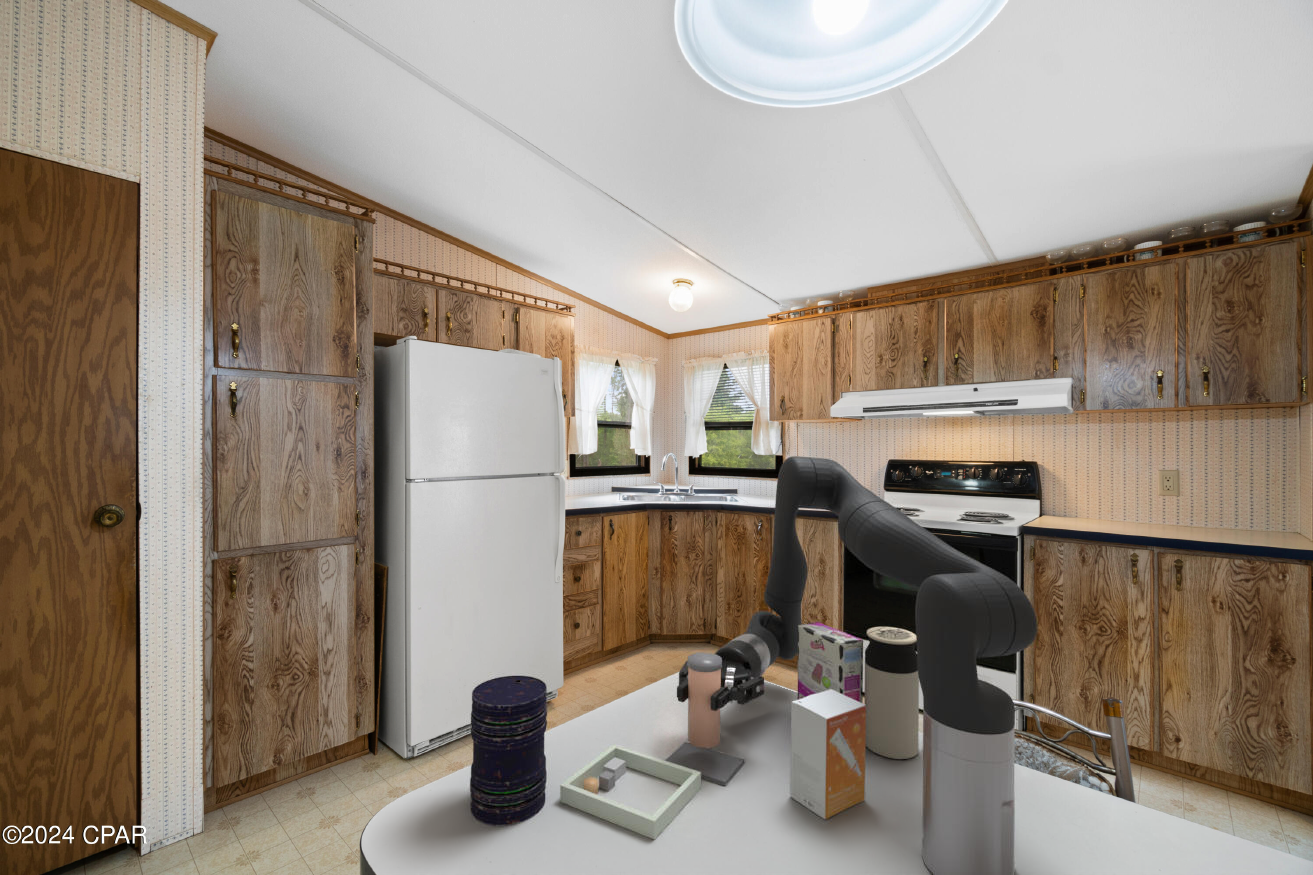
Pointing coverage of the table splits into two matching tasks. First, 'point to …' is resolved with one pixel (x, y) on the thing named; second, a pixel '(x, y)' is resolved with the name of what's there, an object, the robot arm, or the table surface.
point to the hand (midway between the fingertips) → (696, 699)
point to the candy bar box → (829, 662)
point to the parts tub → (609, 768)
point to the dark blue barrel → (508, 750)
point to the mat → (707, 762)
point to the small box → (827, 752)
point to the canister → (703, 699)
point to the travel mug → (891, 693)
